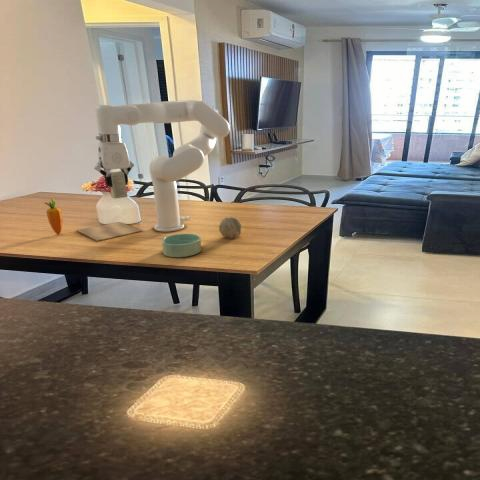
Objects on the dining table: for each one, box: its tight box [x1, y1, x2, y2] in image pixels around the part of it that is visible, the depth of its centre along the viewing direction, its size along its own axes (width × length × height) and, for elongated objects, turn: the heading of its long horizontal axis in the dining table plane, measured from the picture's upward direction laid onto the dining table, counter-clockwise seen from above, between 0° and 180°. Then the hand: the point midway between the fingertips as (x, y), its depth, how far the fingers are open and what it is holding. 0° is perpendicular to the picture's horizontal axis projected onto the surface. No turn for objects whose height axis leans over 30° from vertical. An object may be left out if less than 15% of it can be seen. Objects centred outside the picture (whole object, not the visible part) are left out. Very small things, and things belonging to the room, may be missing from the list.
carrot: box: [44, 198, 63, 236], centre depth 156 cm, size 5×5×15 cm
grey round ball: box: [218, 216, 243, 240], centre depth 159 cm, size 9×8×10 cm
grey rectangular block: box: [109, 170, 128, 199], centre depth 152 cm, size 5×4×10 cm
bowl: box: [161, 233, 202, 258], centre depth 142 cm, size 14×14×5 cm
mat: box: [76, 221, 142, 242], centre depth 164 cm, size 18×20×1 cm
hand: (117, 184), depth 152 cm, fingers closed on grey rectangular block, 5 cm apart
